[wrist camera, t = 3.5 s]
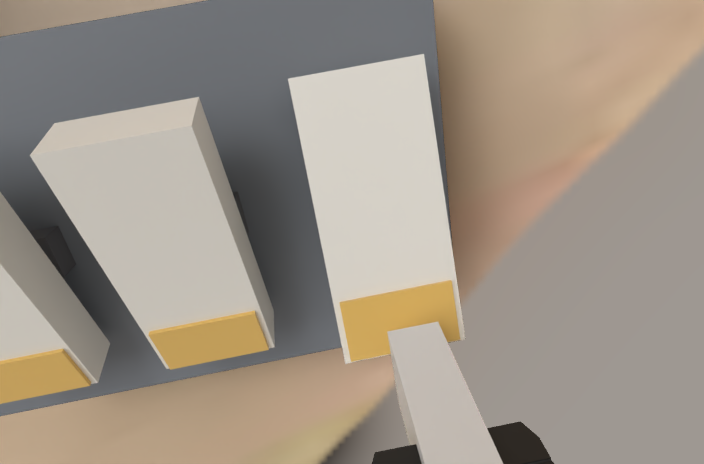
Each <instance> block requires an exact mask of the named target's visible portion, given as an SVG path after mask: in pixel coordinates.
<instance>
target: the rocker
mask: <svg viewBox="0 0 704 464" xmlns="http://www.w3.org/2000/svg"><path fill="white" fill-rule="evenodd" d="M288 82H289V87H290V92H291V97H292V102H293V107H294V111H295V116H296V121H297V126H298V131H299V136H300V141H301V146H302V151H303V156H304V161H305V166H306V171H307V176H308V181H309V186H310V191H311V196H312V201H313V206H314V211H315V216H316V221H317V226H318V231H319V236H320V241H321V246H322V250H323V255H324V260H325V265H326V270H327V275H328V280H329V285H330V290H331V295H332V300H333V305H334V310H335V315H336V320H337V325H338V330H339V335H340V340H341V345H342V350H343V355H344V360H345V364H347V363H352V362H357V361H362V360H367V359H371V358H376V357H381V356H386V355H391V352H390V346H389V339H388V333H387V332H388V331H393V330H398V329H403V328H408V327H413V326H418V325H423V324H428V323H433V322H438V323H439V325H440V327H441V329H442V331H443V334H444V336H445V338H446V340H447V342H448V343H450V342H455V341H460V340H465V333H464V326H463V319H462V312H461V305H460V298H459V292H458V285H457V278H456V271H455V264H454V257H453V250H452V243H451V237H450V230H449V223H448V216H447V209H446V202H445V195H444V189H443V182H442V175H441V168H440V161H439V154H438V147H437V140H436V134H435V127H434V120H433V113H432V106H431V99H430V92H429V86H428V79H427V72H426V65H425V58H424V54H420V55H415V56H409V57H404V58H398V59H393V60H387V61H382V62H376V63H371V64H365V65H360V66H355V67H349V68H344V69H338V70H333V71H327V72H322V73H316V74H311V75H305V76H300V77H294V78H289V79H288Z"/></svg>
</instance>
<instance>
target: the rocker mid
mask: <svg viewBox="0 0 704 464" xmlns="http://www.w3.org/2000/svg"><path fill="white" fill-rule="evenodd" d="M30 157H31V158H32V160H33V161H34V163H35V165H36V166H37V168H38V169H39V171H40V172H41V174H42V175H43V177H44V179H45V180H46V182H47V183H48V185H49V186H50V188H51V190H52V191H53V193H54V194H55V196H56V197H57V199H58V200H59V202H60V204H61V205H62V207H63V208H64V210H65V211H66V213H67V214H68V216H69V218H70V219H71V221H72V222H73V224H74V225H75V227H76V229H77V230H78V232H79V233H80V235H81V236H82V238H83V239H84V241H85V243H86V244H87V246H88V247H89V249H90V250H91V252H92V253H93V255H94V257H95V258H96V260H97V261H98V263H99V264H100V266H101V268H102V269H103V271H104V272H105V274H106V275H107V277H108V278H109V280H110V282H111V283H112V285H113V286H114V288H115V289H116V291H117V292H118V294H119V296H120V297H121V299H122V300H123V302H124V303H125V305H126V307H127V308H128V310H129V311H130V313H131V314H132V316H133V317H134V319H135V321H136V322H137V324H138V325H139V327H140V328H141V330H142V331H143V333H144V335H145V336H146V338H147V339H148V341H149V342H150V344H151V346H152V347H153V349H154V350H155V352H156V353H157V355H158V356H159V358H160V360H161V361H162V363H163V364H164V366H165V367H166V369H169V368H170V370H171V369H176V368H181V367H186V366H191V365H196V364H201V363H206V362H211V361H216V360H221V359H226V358H231V357H236V356H241V355H246V354H251V353H256V352H261V351H266V350H269V348H273V347H275V339H274V310H273V307H272V304H271V301H270V299H269V296H268V293H267V290H266V287H265V284H264V281H263V279H262V276H261V273H260V270H259V267H258V264H257V261H256V259H255V256H254V253H253V250H252V247H251V244H250V241H249V239H248V236H247V233H246V230H245V227H244V224H243V221H242V219H241V216H240V213H239V210H238V207H237V204H236V201H235V199H234V196H233V193H232V190H231V187H230V184H229V181H228V179H227V176H226V173H225V170H224V167H223V164H222V161H221V159H220V156H219V153H218V150H217V147H216V144H215V141H214V139H213V136H212V133H211V130H210V127H209V124H208V121H207V119H206V116H205V113H204V110H203V107H202V104H201V101H200V99H199V97H195V98H190V99H184V100H179V101H173V102H168V103H162V104H157V105H151V106H146V107H140V108H135V109H129V110H124V111H118V112H113V113H107V114H102V115H97V116H91V117H86V118H80V119H75V120H69V121H64V122H58V123H54V124H53V126H52V127H51V128H50V130H49V131H48V132H47V134H46V135H45V136H44V137H43V139H42V140H41V141H40V143H39V144H38V145H37V147H36V148H35V149H34V151H33V152H32V153H31V154H30Z"/></svg>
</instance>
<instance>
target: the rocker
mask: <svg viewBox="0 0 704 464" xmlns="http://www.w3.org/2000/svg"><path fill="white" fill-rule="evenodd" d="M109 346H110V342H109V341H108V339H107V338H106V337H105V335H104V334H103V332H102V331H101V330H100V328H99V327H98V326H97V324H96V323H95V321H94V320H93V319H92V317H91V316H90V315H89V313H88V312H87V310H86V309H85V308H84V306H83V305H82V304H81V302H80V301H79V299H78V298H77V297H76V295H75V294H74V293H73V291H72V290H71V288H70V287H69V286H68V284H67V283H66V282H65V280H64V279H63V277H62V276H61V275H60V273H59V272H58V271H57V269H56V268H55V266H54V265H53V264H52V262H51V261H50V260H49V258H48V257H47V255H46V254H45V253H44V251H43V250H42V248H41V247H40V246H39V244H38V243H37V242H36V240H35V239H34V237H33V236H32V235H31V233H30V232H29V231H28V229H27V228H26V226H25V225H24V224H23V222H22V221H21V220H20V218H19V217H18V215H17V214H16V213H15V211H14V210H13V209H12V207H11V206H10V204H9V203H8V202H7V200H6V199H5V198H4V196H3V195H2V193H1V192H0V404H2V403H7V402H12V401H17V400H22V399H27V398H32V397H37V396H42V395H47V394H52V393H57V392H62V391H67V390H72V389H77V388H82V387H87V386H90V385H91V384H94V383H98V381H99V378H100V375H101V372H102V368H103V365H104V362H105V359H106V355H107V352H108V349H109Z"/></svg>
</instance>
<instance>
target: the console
mask: <svg viewBox="0 0 704 464" xmlns="http://www.w3.org/2000/svg"><path fill="white" fill-rule="evenodd" d="M420 54H424V58H425V65H426V72H427V79H428V86H429V92H430V99H431V106H432V113H433V120H434V127H435V134H436V140H437V147H438V154H439V161H440V168H441V175H442V182H443V189H444V195H445V202H446V209H447V216H448V223H449V230H450V237H451V225H450V212H449V199H448V186H447V174H446V161H445V148H444V135H443V123H442V110H441V97H440V84H439V72H438V59H437V46H436V34H435V21H434V8H433V0H207V1H202V2H196V3H190V4H185V5H179V6H173V7H168V8H162V9H156V10H150V11H145V12H139V13H133V14H128V15H122V16H116V17H111V18H105V19H99V20H94V21H88V22H82V23H77V24H71V25H65V26H60V27H54V28H48V29H43V30H37V31H31V32H26V33H20V34H14V35H9V36H3V37H0V192H1V193H2V195H3V196H4V198H5V199H6V200H7V202H8V203H9V204H10V206H11V207H12V209H13V210H14V211H15V213H16V214H17V215H18V217H19V218H20V220H21V221H22V222H23V224H24V225H25V226H26V228H27V229H28V231H29V232H30V233H31V235H32V236H33V237H34V239H35V240H36V242H37V243H38V244H39V246H40V247H41V248H42V250H43V251H44V253H45V254H46V255H47V257H48V258H49V260H50V261H51V262H52V264H53V265H54V266H55V268H56V269H57V271H58V272H59V273H60V275H61V276H62V277H63V279H64V280H65V282H66V283H67V284H68V286H69V287H70V288H71V290H72V291H73V293H74V294H75V295H76V297H77V298H78V299H79V301H80V302H81V304H82V305H83V306H84V308H85V309H86V310H87V312H88V313H89V315H90V316H91V317H92V319H93V320H94V321H95V323H96V324H97V326H98V327H99V328H100V330H101V331H102V332H103V334H104V335H105V337H106V338H107V339H108V341H109V342H110V346H109V349H108V352H107V355H106V359H105V362H104V365H103V368H102V372H101V375H100V378H99V381H98V383H94V384H91V385H90V386H87V387H82V388H77V389H72V390H67V391H62V392H57V393H52V394H47V395H42V396H37V397H32V398H27V399H22V400H17V401H12V402H7V403H2V404H0V416H4V415H9V414H13V413H18V412H23V411H28V410H33V409H38V408H43V407H48V406H53V405H58V404H63V403H68V402H73V401H78V400H83V399H88V398H93V397H98V396H103V395H108V394H113V393H117V392H122V391H127V390H132V389H137V388H142V387H147V386H152V385H157V384H162V383H167V382H172V381H177V380H182V379H187V378H192V377H197V376H202V375H207V374H212V373H217V372H221V371H226V370H231V369H236V368H241V367H246V366H251V365H256V364H261V363H266V362H271V361H276V360H281V359H286V358H291V357H296V356H301V355H306V354H311V353H316V352H321V351H325V350H330V349H335V348H340V347H342V345H341V340H340V335H339V330H338V325H337V320H336V315H335V310H334V305H333V300H332V295H331V290H330V285H329V280H328V275H327V270H326V265H325V260H324V255H323V250H322V246H321V241H320V236H319V231H318V226H317V221H316V216H315V211H314V206H313V201H312V196H311V191H310V186H309V181H308V176H307V171H306V166H305V161H304V156H303V151H302V146H301V141H300V136H299V131H298V126H297V121H296V116H295V111H294V107H293V102H292V97H291V92H290V87H289V82H288V79H289V78H294V77H300V76H305V75H311V74H316V73H322V72H327V71H333V70H338V69H344V68H349V67H355V66H360V65H365V64H371V63H376V62H382V61H387V60H393V59H398V58H404V57H409V56H415V55H420ZM195 97H199V99H200V101H201V104H202V107H203V110H204V113H205V116H206V119H207V121H208V124H209V127H210V130H211V133H212V136H213V139H214V141H215V144H216V147H217V150H218V153H219V156H220V159H221V161H222V164H223V167H224V170H225V173H226V176H227V179H228V181H229V184H230V187H231V190H232V193H233V196H234V199H235V201H236V204H237V207H238V210H239V213H240V216H241V219H242V221H243V224H244V227H245V230H246V233H247V236H248V239H249V241H250V244H251V247H252V250H253V253H254V256H255V259H256V261H257V264H258V267H259V270H260V273H261V276H262V279H263V281H264V284H265V287H266V290H267V293H268V296H269V299H270V301H271V304H272V307H273V310H274V339H275V347H273V348H269V350H266V351H261V352H256V353H251V354H246V355H241V356H236V357H231V358H226V359H221V360H216V361H211V362H206V363H201V364H196V365H191V366H186V367H181V368H176V369H171V370H170V368H169V369H166V367H165V366H164V364H163V363H162V361H161V360H160V358H159V356H158V355H157V353H156V352H155V350H154V349H153V347H152V346H151V344H150V342H149V341H148V339H147V338H146V336H145V335H144V333H143V331H142V330H141V328H140V327H139V325H138V324H137V322H136V321H135V319H134V317H133V316H132V314H131V313H130V311H129V310H128V308H127V307H126V305H125V303H124V302H123V300H122V299H121V297H120V296H119V294H118V292H117V291H116V289H115V288H114V286H113V285H112V283H111V282H110V280H109V278H108V277H107V275H106V274H105V272H104V271H103V269H102V268H101V266H100V264H99V263H98V261H97V260H96V258H95V257H94V255H93V253H92V252H91V250H90V249H89V247H88V246H87V244H86V243H85V241H84V239H83V238H82V236H81V235H80V233H79V232H78V230H77V229H76V227H75V225H74V224H73V222H72V221H71V219H70V218H69V216H68V214H67V213H66V211H65V210H64V208H63V207H62V205H61V204H60V202H59V200H58V199H57V197H56V196H55V194H54V193H53V191H52V190H51V188H50V186H49V185H48V183H47V182H46V180H45V179H44V177H43V175H42V174H41V172H40V171H39V169H38V168H37V166H36V165H35V163H34V161H33V160H32V158H31V157H30V154H31V153H32V152H33V151H34V149H35V148H36V147H37V145H38V144H39V143H40V141H41V140H42V139H43V137H44V136H45V135H46V134H47V132H48V131H49V130H50V128H51V127H52V126H53V124H54V123H58V122H64V121H69V120H75V119H80V118H86V117H91V116H97V115H102V114H107V113H113V112H118V111H124V110H129V109H135V108H140V107H146V106H151V105H157V104H162V103H168V102H173V101H179V100H184V99H190V98H195ZM451 243H452V237H451Z"/></svg>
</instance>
